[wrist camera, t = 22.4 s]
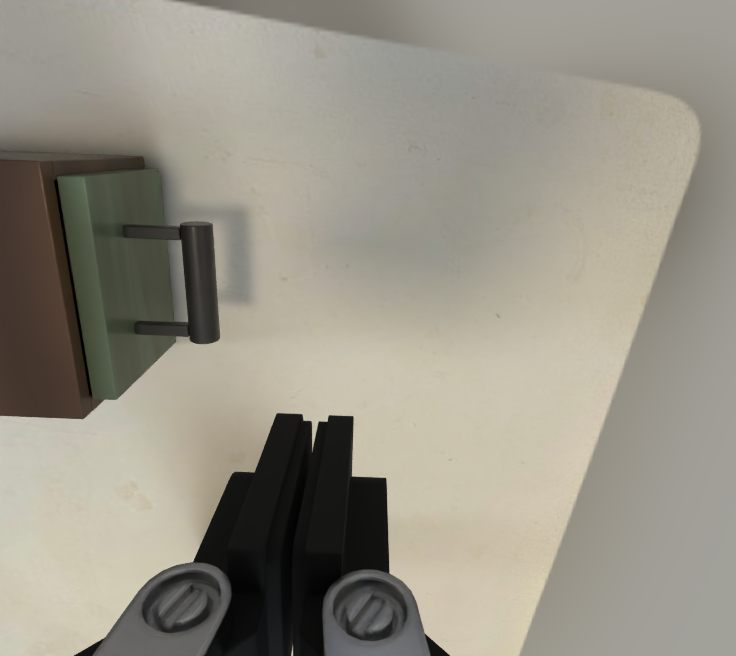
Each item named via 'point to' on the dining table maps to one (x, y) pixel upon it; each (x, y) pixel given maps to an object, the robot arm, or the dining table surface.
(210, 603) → the robot arm
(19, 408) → the cabinet
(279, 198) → the dining table surface
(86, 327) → the drawer
